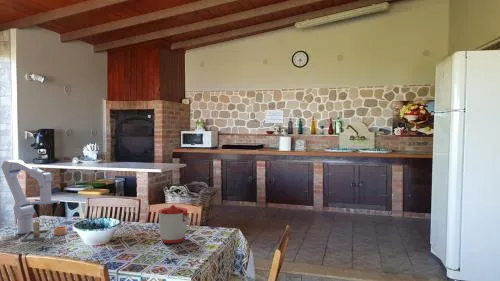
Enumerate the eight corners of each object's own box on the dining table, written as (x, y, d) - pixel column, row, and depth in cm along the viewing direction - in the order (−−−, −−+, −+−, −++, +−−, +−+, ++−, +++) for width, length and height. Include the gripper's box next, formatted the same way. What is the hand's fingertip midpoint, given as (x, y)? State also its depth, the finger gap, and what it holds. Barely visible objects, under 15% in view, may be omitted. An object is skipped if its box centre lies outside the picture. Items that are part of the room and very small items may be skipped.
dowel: (34, 235, 206) (33, 222, 205) (40, 235, 207) (39, 221, 206) (32, 237, 203) (32, 223, 203) (38, 236, 204) (38, 222, 204)
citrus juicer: (184, 246, 190) (183, 208, 189) (153, 244, 193) (153, 207, 192) (194, 237, 205) (194, 202, 204) (166, 235, 208) (165, 201, 208)
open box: (56, 233, 212) (56, 226, 212) (67, 232, 214) (67, 225, 214) (54, 236, 207) (54, 229, 207) (65, 235, 209) (65, 228, 208)
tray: (29, 234, 211) (29, 231, 211) (50, 232, 214) (50, 229, 214) (21, 242, 196) (21, 239, 195) (44, 240, 199) (44, 237, 199)
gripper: (29, 195, 204) (30, 219, 204) (58, 194, 208) (58, 217, 209) (32, 193, 211) (33, 216, 211) (60, 191, 215) (60, 214, 216)
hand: (46, 216), depth 210 cm, fingers open, 7 cm apart
